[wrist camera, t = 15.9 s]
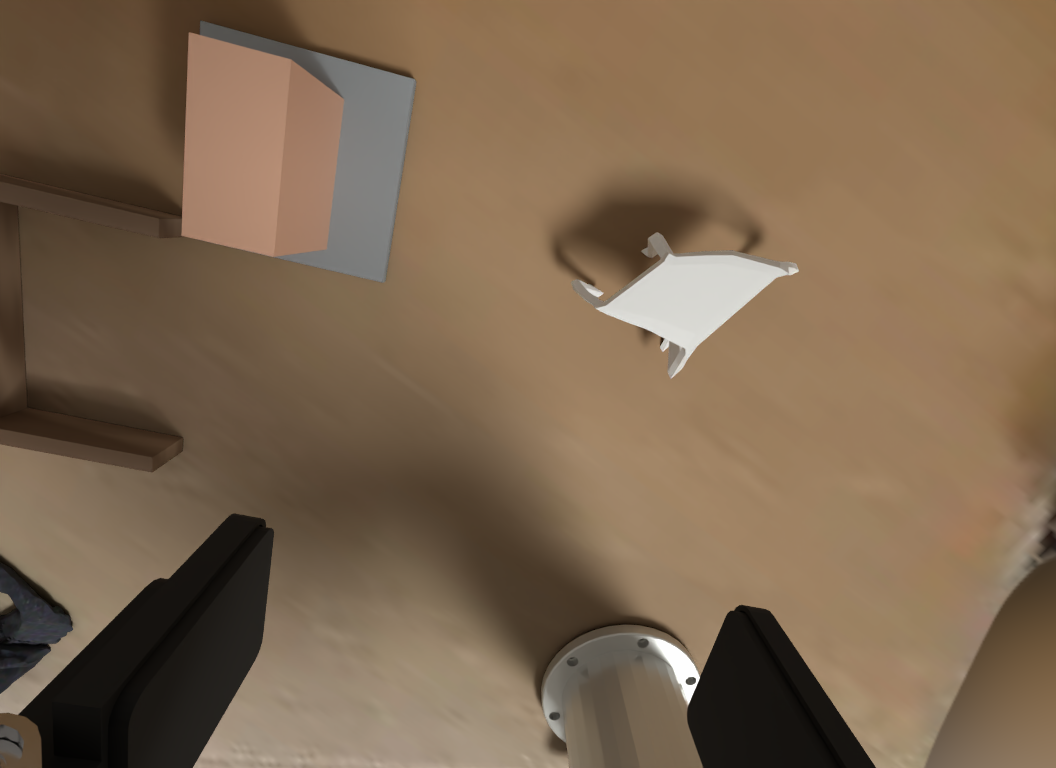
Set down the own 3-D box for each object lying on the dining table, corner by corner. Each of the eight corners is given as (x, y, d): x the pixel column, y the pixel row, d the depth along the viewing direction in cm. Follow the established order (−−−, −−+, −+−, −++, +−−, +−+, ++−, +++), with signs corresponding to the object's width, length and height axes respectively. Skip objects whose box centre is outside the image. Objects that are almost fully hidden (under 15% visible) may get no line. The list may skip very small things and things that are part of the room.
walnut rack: (182, 451, 34) (152, 472, 31) (11, 418, 33) (-37, 437, 30) (193, 219, 30) (159, 218, 27) (-4, 172, 28) (-61, 167, 26)
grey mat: (385, 281, 31) (382, 282, 30) (196, 237, 30) (190, 238, 29) (416, 82, 28) (414, 79, 27) (206, 24, 27) (200, 20, 26)
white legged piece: (618, 388, 34) (636, 414, 29) (563, 272, 31) (573, 281, 27) (790, 304, 32) (838, 318, 28) (746, 177, 30) (790, 169, 25)
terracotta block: (344, 99, 27) (291, 59, 21) (326, 249, 30) (274, 256, 23) (267, 79, 27) (188, 31, 20) (256, 233, 29) (181, 235, 23)
